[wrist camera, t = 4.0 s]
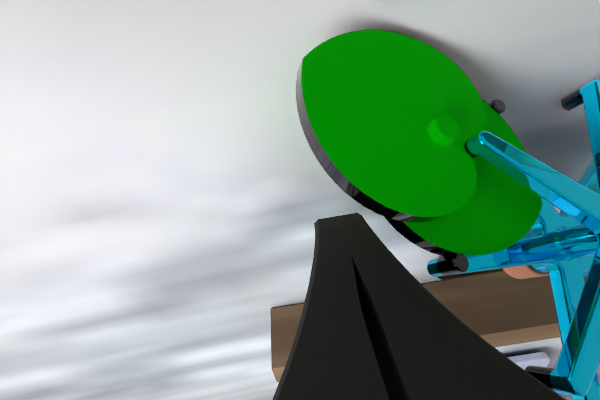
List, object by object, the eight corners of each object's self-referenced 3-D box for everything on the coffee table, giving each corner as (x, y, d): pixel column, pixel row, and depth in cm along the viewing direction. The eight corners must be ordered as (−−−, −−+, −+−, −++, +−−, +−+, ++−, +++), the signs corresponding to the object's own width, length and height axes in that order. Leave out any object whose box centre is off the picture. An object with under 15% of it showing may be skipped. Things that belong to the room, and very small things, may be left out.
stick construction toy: (788, 168, 9) (883, 546, 5) (538, 232, 15) (513, 424, 12) (390, -96, 7) (211, 187, 4) (301, 94, 14) (202, 266, 11)
